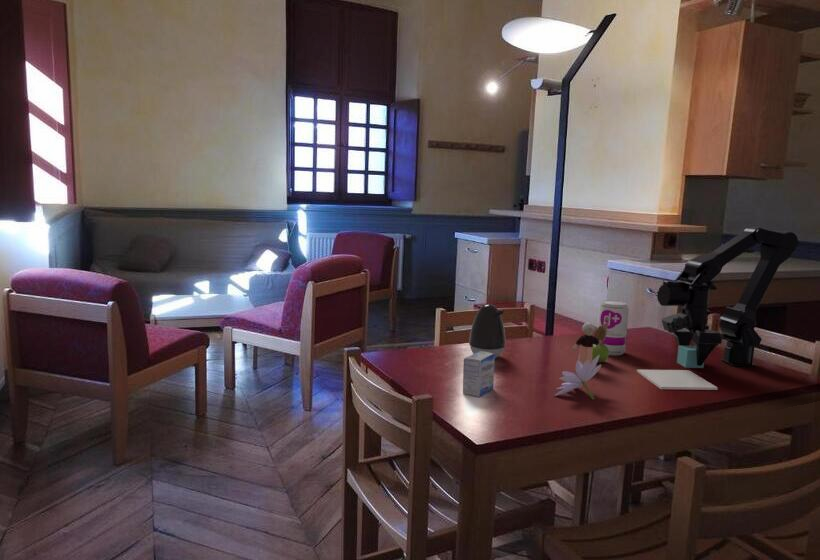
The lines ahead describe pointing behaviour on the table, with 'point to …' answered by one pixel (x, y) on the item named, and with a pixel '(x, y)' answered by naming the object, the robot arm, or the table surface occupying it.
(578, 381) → the water lily
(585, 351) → the grandmother figurine
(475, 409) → the table surface
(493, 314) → the penguin figurine
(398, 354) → the table surface
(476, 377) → the medicine box
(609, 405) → the table surface
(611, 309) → the supplement can
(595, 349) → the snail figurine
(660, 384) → the tile
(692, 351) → the cube
